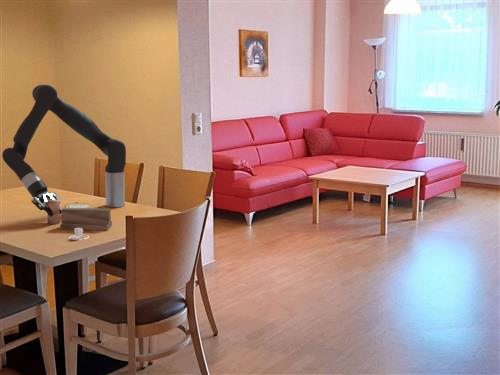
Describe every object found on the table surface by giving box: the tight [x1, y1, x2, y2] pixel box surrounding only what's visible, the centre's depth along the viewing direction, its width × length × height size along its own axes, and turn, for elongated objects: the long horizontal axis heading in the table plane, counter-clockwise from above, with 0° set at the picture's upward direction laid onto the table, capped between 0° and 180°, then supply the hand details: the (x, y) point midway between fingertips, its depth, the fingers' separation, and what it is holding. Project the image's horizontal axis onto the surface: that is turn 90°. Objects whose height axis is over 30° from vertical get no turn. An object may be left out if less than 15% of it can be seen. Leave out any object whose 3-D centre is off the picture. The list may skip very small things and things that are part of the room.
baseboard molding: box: [63, 202, 90, 208], centre depth 289 cm, size 31×3×12 cm
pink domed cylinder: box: [47, 199, 61, 225], centre depth 271 cm, size 5×5×10 cm
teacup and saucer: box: [68, 228, 90, 241], centre depth 249 cm, size 9×8×4 cm
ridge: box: [59, 207, 113, 231], centre depth 264 cm, size 9×20×8 cm, turn 91°
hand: (56, 214), depth 270 cm, fingers closed on pink domed cylinder, 5 cm apart
